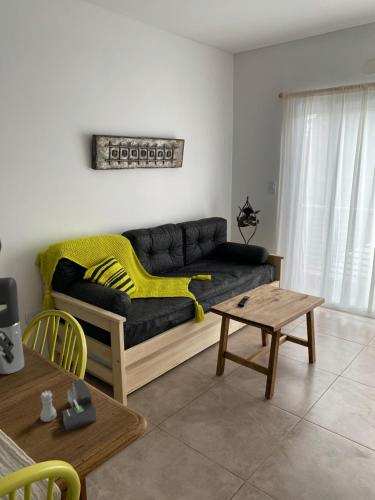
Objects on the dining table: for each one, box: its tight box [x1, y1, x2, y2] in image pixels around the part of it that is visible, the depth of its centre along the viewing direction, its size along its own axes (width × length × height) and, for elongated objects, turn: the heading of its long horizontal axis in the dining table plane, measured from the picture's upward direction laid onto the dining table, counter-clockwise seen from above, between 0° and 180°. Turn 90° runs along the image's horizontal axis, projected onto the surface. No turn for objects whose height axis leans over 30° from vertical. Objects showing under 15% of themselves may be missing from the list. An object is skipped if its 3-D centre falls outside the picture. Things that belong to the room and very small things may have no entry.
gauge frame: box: [62, 378, 97, 431], centre depth 114 cm, size 14×8×6 cm, turn 30°
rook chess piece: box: [39, 390, 58, 423], centre depth 111 cm, size 4×4×8 cm
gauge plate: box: [67, 388, 80, 410], centre depth 113 cm, size 11×1×4 cm, turn 30°
